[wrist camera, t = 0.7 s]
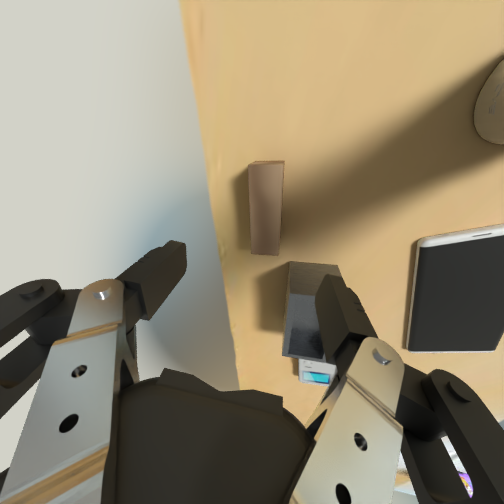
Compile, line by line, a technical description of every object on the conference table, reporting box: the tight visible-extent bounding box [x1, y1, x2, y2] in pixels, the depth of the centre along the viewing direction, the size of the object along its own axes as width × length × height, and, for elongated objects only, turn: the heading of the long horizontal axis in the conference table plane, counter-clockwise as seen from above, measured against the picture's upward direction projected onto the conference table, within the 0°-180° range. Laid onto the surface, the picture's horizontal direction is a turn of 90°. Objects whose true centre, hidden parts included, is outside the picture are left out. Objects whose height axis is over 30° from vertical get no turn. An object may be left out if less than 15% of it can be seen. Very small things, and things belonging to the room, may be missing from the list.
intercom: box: [298, 359, 337, 386], centre depth 42 cm, size 13×4×25 cm
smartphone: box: [406, 224, 504, 353], centre depth 30 cm, size 13×27×2 cm, turn 19°
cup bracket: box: [282, 261, 342, 363], centre depth 32 cm, size 8×16×8 cm, turn 2°
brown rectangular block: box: [248, 161, 285, 256], centre depth 25 cm, size 4×12×5 cm, turn 2°
